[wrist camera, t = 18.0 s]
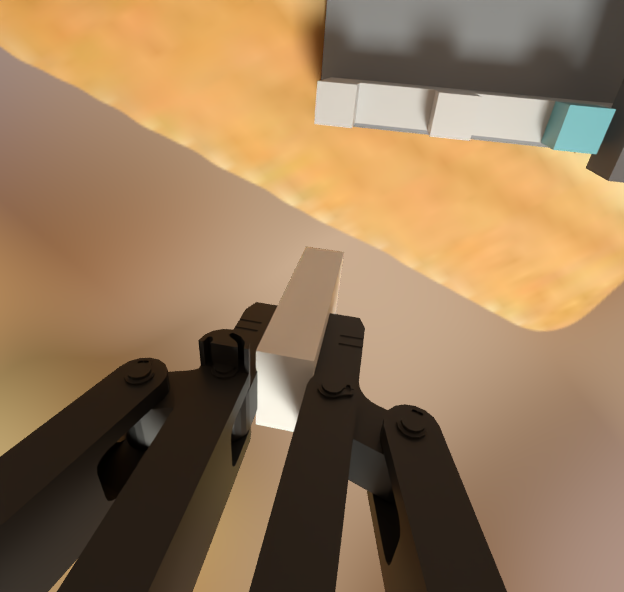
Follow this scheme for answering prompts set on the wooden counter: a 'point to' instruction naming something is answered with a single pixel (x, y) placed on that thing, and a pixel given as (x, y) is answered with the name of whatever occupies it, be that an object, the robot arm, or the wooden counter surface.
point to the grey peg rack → (475, 69)
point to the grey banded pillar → (611, 145)
